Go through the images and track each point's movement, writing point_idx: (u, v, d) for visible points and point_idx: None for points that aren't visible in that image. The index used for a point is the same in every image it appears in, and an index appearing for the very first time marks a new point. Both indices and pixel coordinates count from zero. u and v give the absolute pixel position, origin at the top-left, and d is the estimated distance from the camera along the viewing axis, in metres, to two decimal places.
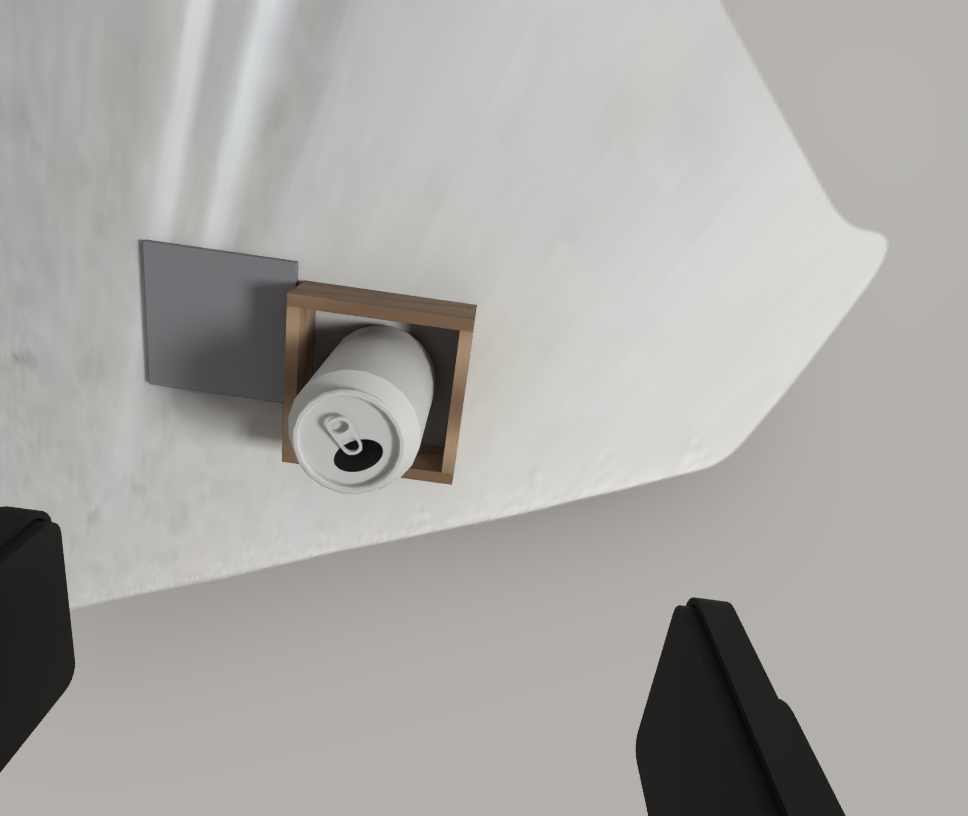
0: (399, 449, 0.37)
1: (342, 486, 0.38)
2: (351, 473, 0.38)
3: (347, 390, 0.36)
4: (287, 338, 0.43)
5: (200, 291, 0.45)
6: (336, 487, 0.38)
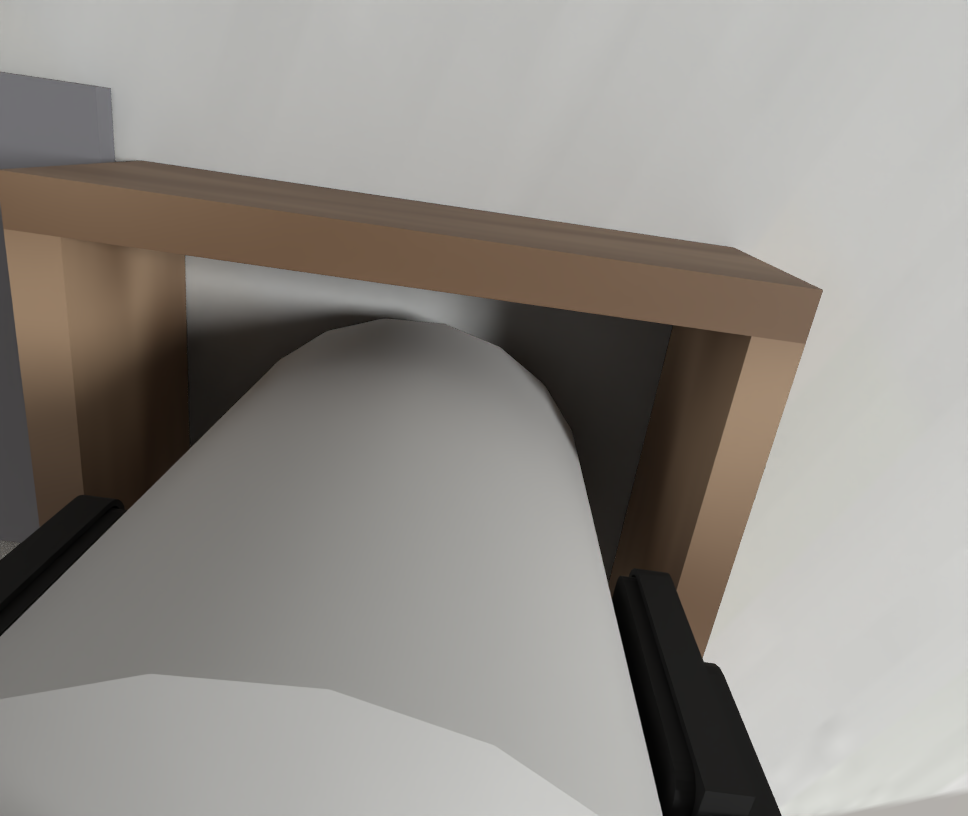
0: None
1: None
2: None
3: None
4: (27, 369, 0.10)
5: None
6: None
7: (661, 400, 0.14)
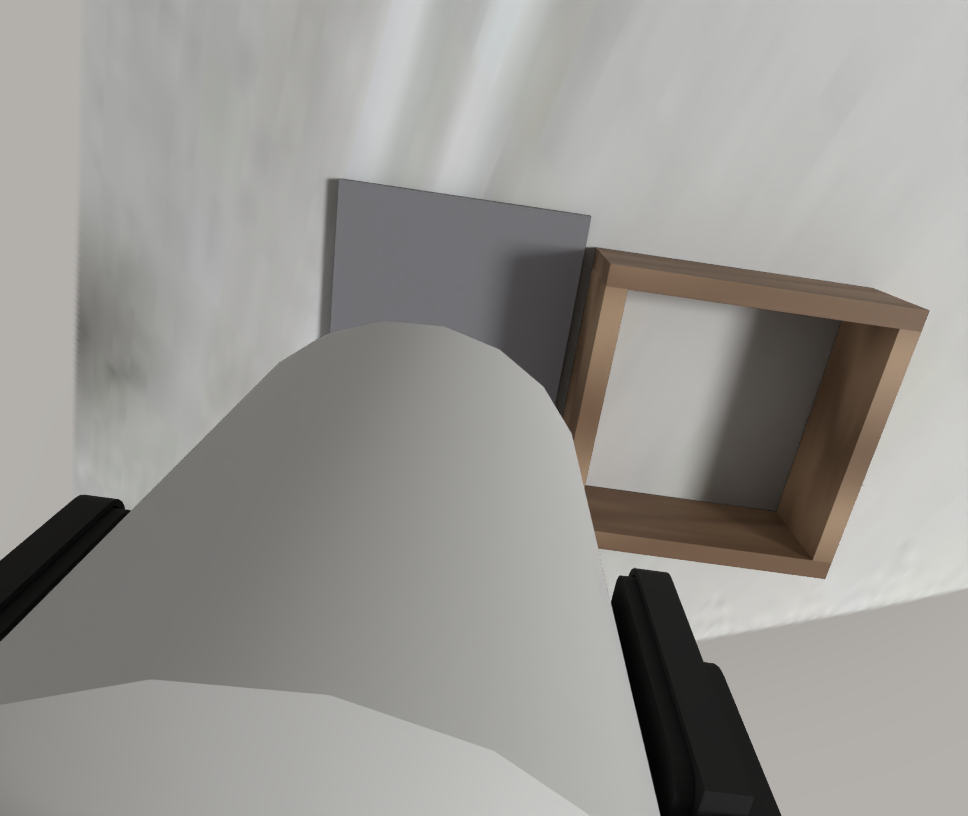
0: None
1: None
2: None
3: None
4: (597, 342, 0.25)
5: (424, 264, 0.28)
6: None
7: (834, 361, 0.29)
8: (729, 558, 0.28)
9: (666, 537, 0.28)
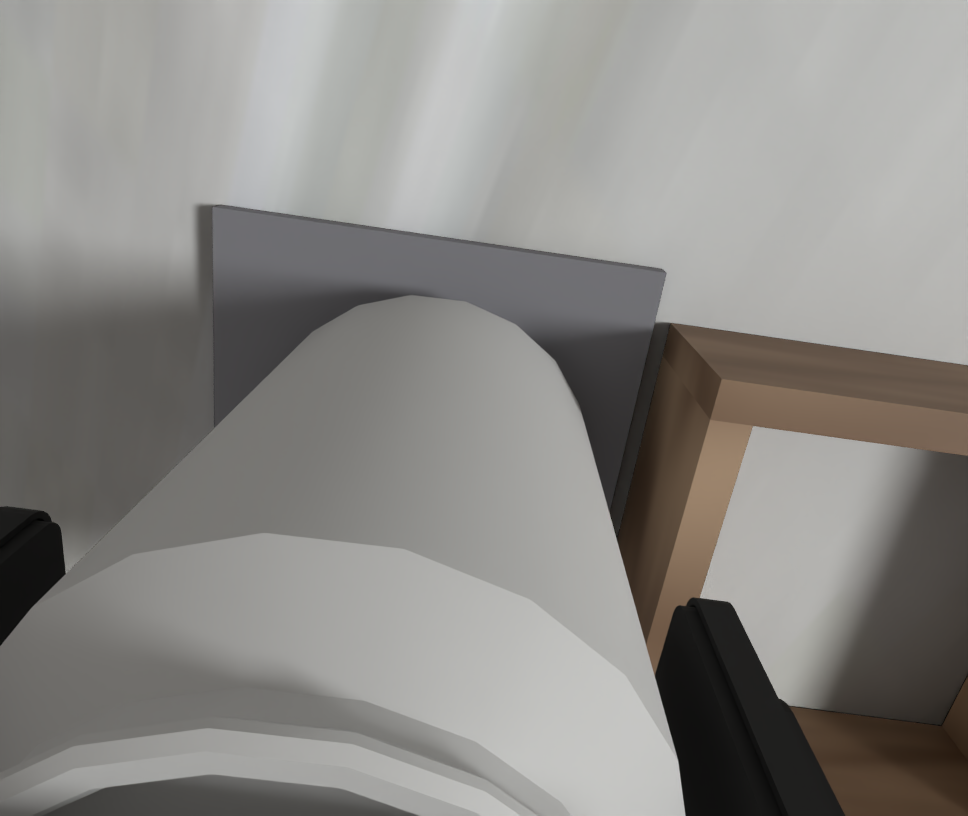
0: None
1: None
2: None
3: (263, 737, 0.05)
4: (687, 518, 0.13)
5: None
6: None
7: None
8: None
9: None
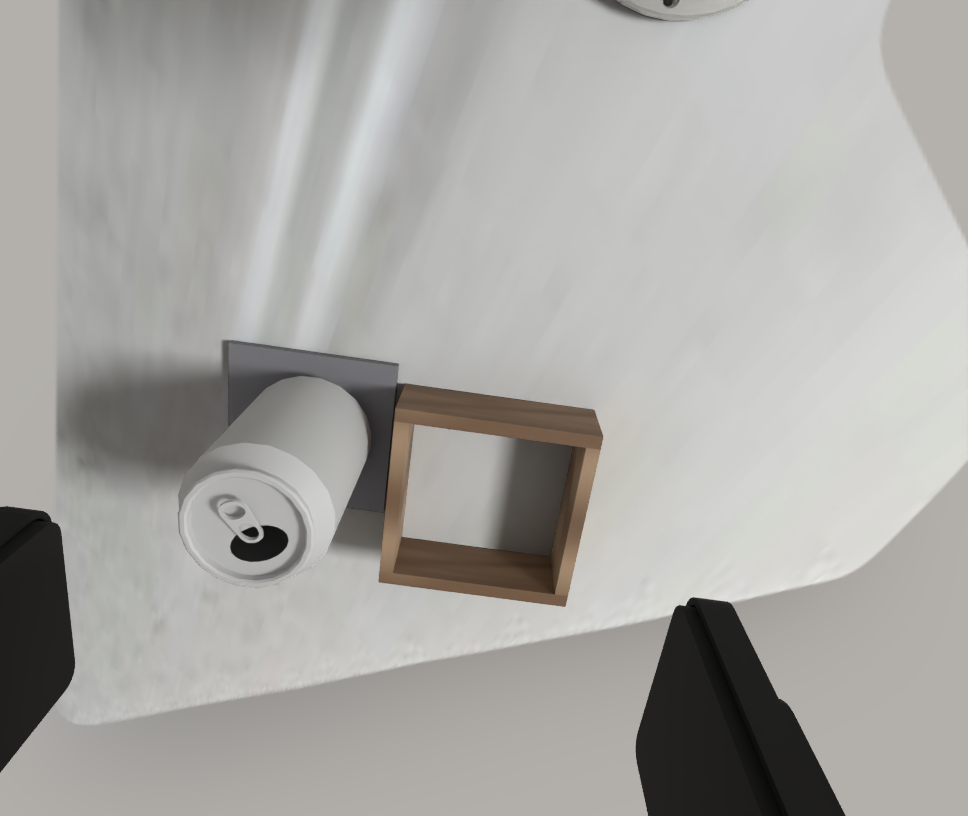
0: (306, 539, 0.31)
1: (240, 578, 0.32)
2: (251, 563, 0.32)
3: (243, 470, 0.30)
4: (392, 455, 0.38)
5: None
6: (232, 579, 0.32)
7: (572, 458, 0.42)
8: (498, 593, 0.42)
9: (456, 578, 0.42)
